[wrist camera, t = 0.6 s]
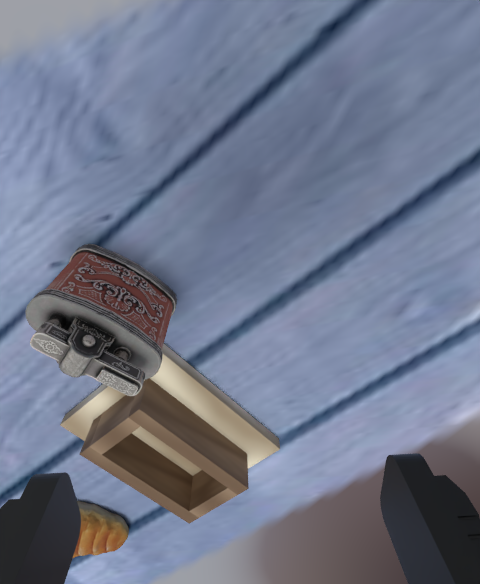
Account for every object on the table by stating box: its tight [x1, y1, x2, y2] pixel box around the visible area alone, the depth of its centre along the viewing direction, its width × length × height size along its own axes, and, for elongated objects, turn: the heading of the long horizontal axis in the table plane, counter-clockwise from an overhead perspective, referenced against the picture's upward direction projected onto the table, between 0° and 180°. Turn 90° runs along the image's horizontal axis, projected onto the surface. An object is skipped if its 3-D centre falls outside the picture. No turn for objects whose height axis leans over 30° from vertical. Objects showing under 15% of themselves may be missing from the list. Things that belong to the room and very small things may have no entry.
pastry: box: [73, 501, 129, 558], centre depth 41 cm, size 9×7×4 cm
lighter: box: [26, 244, 177, 396], centre depth 25 cm, size 8×3×10 cm, turn 55°
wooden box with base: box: [60, 343, 280, 523], centre depth 34 cm, size 12×15×5 cm
